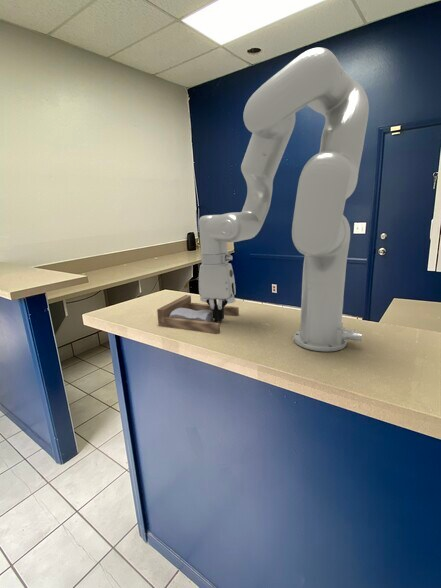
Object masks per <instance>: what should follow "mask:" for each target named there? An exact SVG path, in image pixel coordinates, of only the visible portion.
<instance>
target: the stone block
mask: <svg viewBox="0 0 441 588" xmlns="http://www.w3.org/2000/svg"><path fill="white" fill-rule="evenodd" d="M170 317H172V318H181V319H189V320H197V321H206V322H213V321H214V318H213V313H212V311H210V310H200V311H195V310H191V309H187V308H177V309H175V310H174V311H172V312H171V313H170Z"/></svg>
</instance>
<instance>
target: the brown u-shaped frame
mask: <svg viewBox="0 0 441 588" xmlns="http://www.w3.org/2000/svg"><path fill="white" fill-rule="evenodd" d="M177 308H187V309H191V310H195V311H200V310H210V311H212V309H211V307H210V306H209V305H208V303H201V302H200V303H199V302H192V295H189V294H185V295H183V296H181V297H179V298H177V299H175V300H173V301H171V302H169V303H167V304H165V305H163V306H162V307H159V308H157V309H156V310H157V311H156V313H157V324H158V325H157V326H158V327H164V328H165V327H167V328H172V329H181V330H187V331H188V330H189V331H194V332H201V333H203V332H204V333H210V334H211V333H212V334H219V333H220V332H221V324H220V323H221V322H214V321H212V322H206V321H197V320H189V319H181V318H172V317H170V313H171V312H172V311H174V310H175V309H177ZM239 309H240V307H239V306H231V305H230V306H229V305H225V307H224V316H233V317H238V316H239V315H240V313H239V312H240V310H239ZM212 313H213V312H212Z"/></svg>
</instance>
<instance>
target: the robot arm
mask: <svg viewBox="0 0 441 588" xmlns="http://www.w3.org/2000/svg"><path fill="white" fill-rule="evenodd" d="M369 103H370V102H369V99H368V95H367V92H366V91H365V89H364V88H363V86H362V85H361V84H360V83H359V82H358V81H357V80H355V79H354V78H353V77H352V76H350V75H349V74H348V73H346V71H345V70H344V68H343V66H342V65H341V64H340V61H339V60H338V58H337V56H336V55H335V54H334V53H333V52H332V51H331V50H329V49H328V48H325V47H321V46H320V47H313V48H310V49H307V50H305V51H304V52H302V53H300V54H299V55H298V56H297V57H295V58H294V59H292V60H291V61H290V62H289V63H287V64H286V65H285V66H284V67H283V68H282V69H280V70H279V71H277V72H276V73H275V74H274V75H272V76H271V77H270V78H269V79H267V80H266V81H265V82H264V83H263V84H261V86H260V87H258V88H257V90H255V92H253V93H252V95H251V96H250V97H249V98H248V100H247V102H246V104H245V107H244V110H243V113H242V114H243V115H242V116H243V122H244V126H245V128H246V129H247V130H248V132H250V133H252V134H251V137H250V139H249V143H248V145H247V148H246V152H245V153H244V157H243V158H242V161H241V162H242V163H241V164H240V171H241V173H242V175H243V178H244V180H245V183H246V187H247V192H246V193H247V194H246V198H245V202H244V204H243V207H242V210H241V211H240V212H239V211H238V212H237V211H236V212H227V213H223V214H206V215H202V216H200V217H199V219H198V231H199V242H200V256H201V257H200V258H201V264H200V265H199V273H198V293H199V297H200V301H201V303H202V302H203V303H205V304H208V305H209V306H210V307H211V309H212V312H213V322H214V323H221V322H222V321H223V320H224V318H225V315H224V307H225V306H227V305H228V304H233V303H235V301H236V298H235V296H236V289H237V288H236V283H235V282H236V279H235V275H234V270H233V265H232V263H229V261H233V255H230V254H229V252H228V243H236V242H241V241H246V240H251V239H253V238H255V237H256V236H257V235H258V234H259V232H260V231H261V229H262V227H263V225H264V223H265V221H266V217H267V215H268V212H269V210H270V207H271V201H272V196H273V187H274V186H273V185H274V184H273V183H274V179H275V175H276V173H277V171H278V169H279V165H280V163H281V161H282V158H283V156H284V153H285V151H286V149H287V147H288V146H287V145H288V143H289V141H290V138H291V136H292V133H293V131H294V128H295V124H296V113H298V111H301V110H302V109H303V108H305V107H306V106H307V107H309V108H311V109H312V110H313V112H316V113H319V114H321V115H322V116H323V117H324V118H325V119H324V120H325V122H324V126H323V129H322V132H321V133H322V134H321V139H320V147H319V152H318V153H316V154H314V155H313V156H312V157H311V158H310V159H309V160H307V162H306V163H305V164H304V166H303V167H302V170H301V173H300V176H299V178H298V184H297V189H296V190H297V191H296V197H295V204H294V211H293V217H292V224H291V226H292V227H291V238H292V242H293V245H294V248H295V249H296V250H297V251H298V252H299V253H300V254H302V255H303V256H304V258H303V264H302V267H303V268H302V280H301V281H302V282H301V302H300V303H301V305H300V326H299V327H300V329H299V330H297V331H295V332H294V333H293V341H294V342H295V344H296V345H298V346H299V347H301V348H304V349H306V350H311V351H315V352H326V353H327V352H335V351H339V350H342V349H344V348H346V346H347V345H348V340H351V341H358V342H362V336H363V335H362V332H357V330H356V329H351V328H350V329H349V328H346V327H344V322H342V321H343V309H344V296H345V295H344V294H345V283H346V273H347V271H346V270H347V262H348V261H347V260H348V254H349V248H350V242H351V226H350V222H349V220H348V219H347V217H346V216H345V215H344V211H345V207H346V206H345V205H346V201H347V200H348V198H350V197H351V195H353V193H354V192H355V189H356V187H357V186H358V185H357V184H358V179H359V171H360V166H361V161H362V155H363V150H364V143H365V136H366V131H367V127H368V126H367V125H368V120H369V113H370V112H369V111H370V110H369V109H370V104H369Z"/></svg>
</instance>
